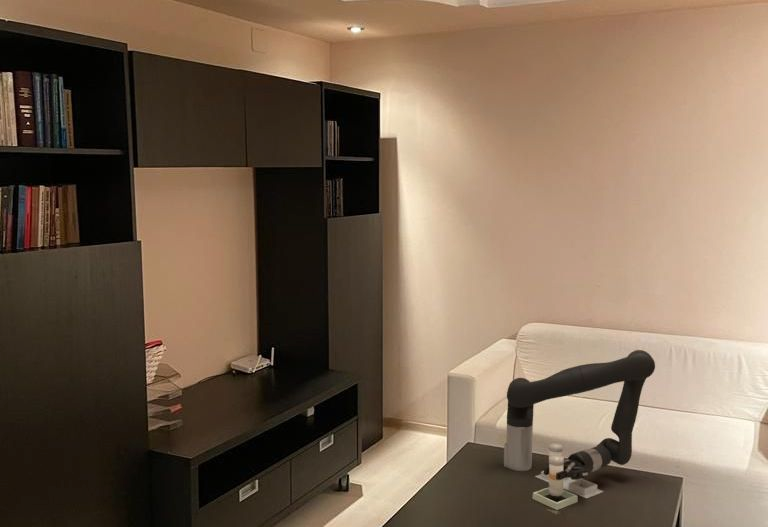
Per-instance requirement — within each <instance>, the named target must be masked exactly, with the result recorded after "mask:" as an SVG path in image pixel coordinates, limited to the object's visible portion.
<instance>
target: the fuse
mask: <svg viewBox="0 0 768 527" xmlns="http://www.w3.org/2000/svg"><path fill="white" fill-rule="evenodd" d="M563 446H564V444H563V443H561V442H556V441H553V442H549V443H548V457H549V456H550V455H561V456H563V450H564V449H563Z"/></svg>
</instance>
